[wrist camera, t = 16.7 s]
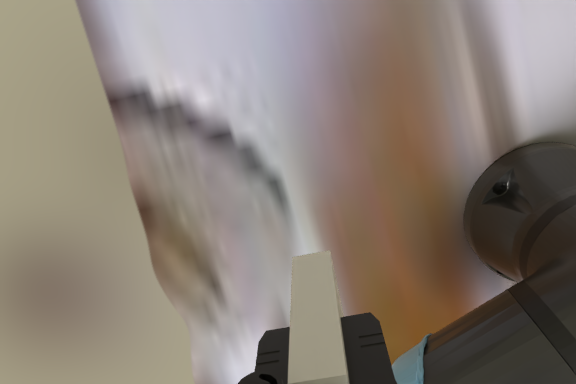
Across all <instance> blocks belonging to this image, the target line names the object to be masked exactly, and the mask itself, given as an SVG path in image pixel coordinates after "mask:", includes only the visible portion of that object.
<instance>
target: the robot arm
mask: <svg viewBox="0 0 576 384" xmlns="http://www.w3.org/2000/svg"><path fill="white" fill-rule="evenodd" d="M464 230H465V234H466V238H467V240H468V242H469V244H470V246H471V248H472V249H473V251H474V252H475V253H476V254H477V256H478V257H479V258H480V259H481V261H482V262H483V263H484V264H485V265H486V266H487V267H488V268H490V269H491V270H492V271H494V272H495V273H497V274H498V275H500V276H502V277H504V278H507V279H509V280H512V281H516V282H518V283H517V284H515V285H514V286H512V287H511V288H509V289H507V290H505V291H504V292H502V293H500V294H499V295H497V296H496V297H494V298H492V299H491V300H489V301H487V302H486V303H484V304H482V305H481V306H479V307H477V308H476V309H474V310H472V311H471V312H469V313H467V314H466V315H464V316H462V317H461V318H459V319H458V320H456V321H454V322H453V323H451V324H449V325H448V326H446V327H444V328H443V329H441V330H439V331H438V332H436V333H434V334H431V333H430V334H428V335H426V336H425V337H424V338H423V339H422V341H421V342H420V343H419V344H417V345H416V346H414V347H413V348H411V349H410V350H409V351H407V352H406V353H404V354H403V355H401V356H400V357H399V358H397V359H396V361H395V362H394V363H393V365H392V366H391V362H390V359H389V355H388V351H387V348H386V344H385V340H384V337H383V333H382V329H381V326H380V322H379V320H377V319H376V318H375V317H374V316H373V315H372V314H371V313H364V314H358V315H352V316H346V317H343V310H342V305H341V300H340V295H339V291H338V286H337V281H336V276H335V272H334V267H333V262H332V257H331V253H330V250H329V251H324V252H318V253H313V254H307V255H302V256H297V257H293V258H292V284H291V310H290V327H287V328H281V329H275V330H269V331H266V332H265V333H264V335H263V336H262V338H261V340H260V341H259V344H258V351H257V359H256V366H255V372H253V373H250V374H249V375H247V376H246V377H244V378H242V379H241V380H240V382H239V383H238V384H576V147H575V146H573V145H569V144H565V143H557V142H546V143H537V144H532V145H528V146H525V147H522V148H520V149H517V150H515V151H513V152H511V153H509V154H507V155H505V156H504V157H502V158H501V159H499V160H498V161H496V162H495V163H494V164H493V165H491V166H490V167H489V168H488V169H487V170H486V171H485V172H484V173H483V174H482V176H481V177H480V178H479V179H478V181H477V182H476V184H475V185H474V187H473V189H472V190H471V192H470V195H469V197H468V200H467V203H466V206H465V211H464Z"/></svg>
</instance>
